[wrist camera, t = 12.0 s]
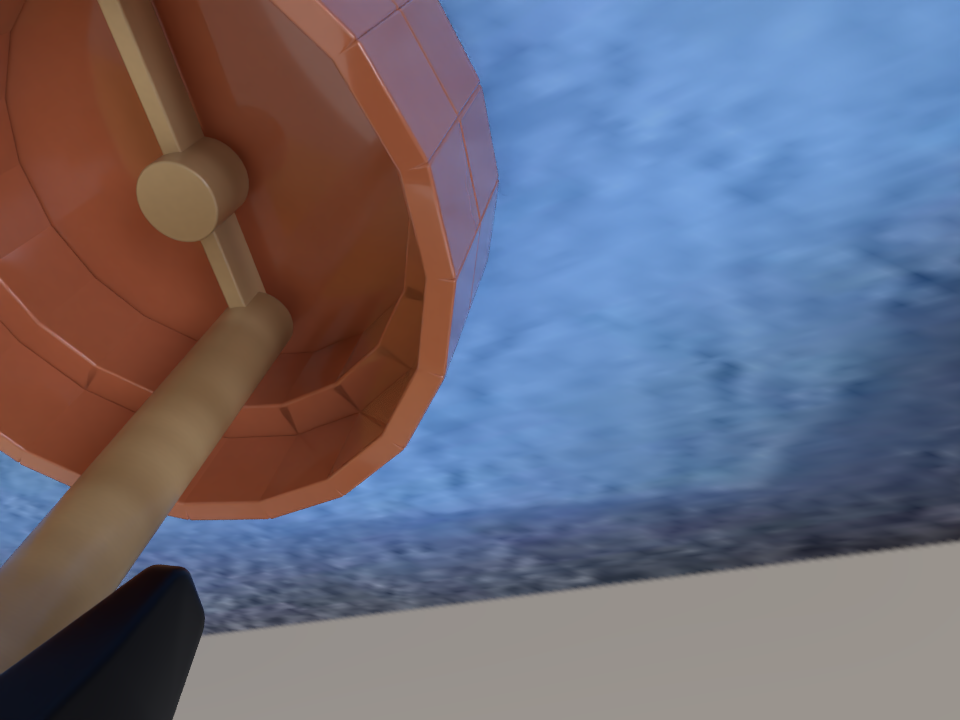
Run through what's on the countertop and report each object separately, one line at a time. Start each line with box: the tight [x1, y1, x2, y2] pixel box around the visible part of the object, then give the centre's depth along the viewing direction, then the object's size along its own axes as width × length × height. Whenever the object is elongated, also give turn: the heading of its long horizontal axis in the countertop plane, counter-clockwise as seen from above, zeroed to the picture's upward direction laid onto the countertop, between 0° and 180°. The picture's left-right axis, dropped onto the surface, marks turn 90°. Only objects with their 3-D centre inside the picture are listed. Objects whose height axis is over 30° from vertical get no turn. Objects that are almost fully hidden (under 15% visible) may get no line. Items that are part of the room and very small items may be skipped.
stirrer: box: [0, 0, 293, 674], centre depth 14 cm, size 10×2×15 cm, turn 12°
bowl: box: [0, 0, 499, 520], centre depth 18 cm, size 14×14×6 cm
